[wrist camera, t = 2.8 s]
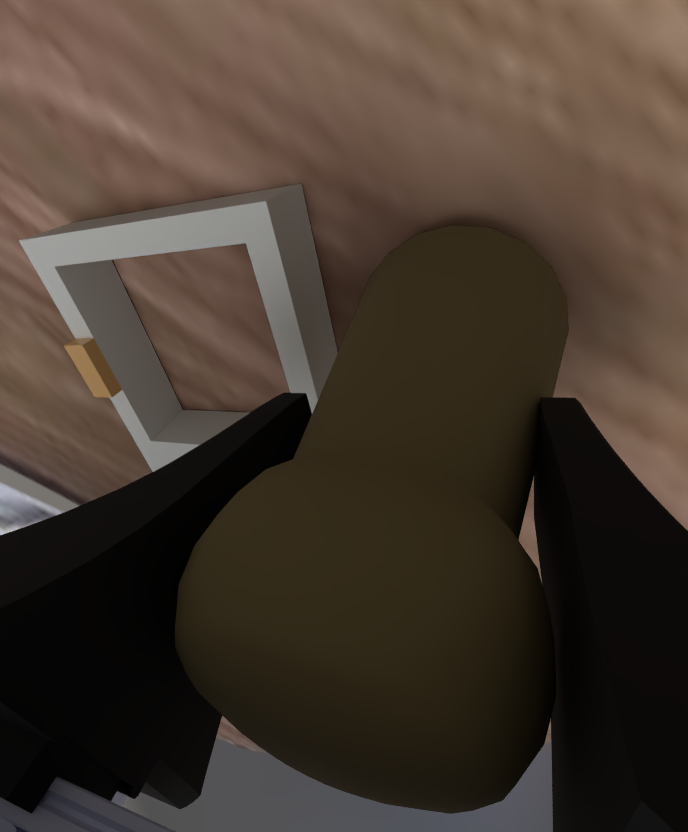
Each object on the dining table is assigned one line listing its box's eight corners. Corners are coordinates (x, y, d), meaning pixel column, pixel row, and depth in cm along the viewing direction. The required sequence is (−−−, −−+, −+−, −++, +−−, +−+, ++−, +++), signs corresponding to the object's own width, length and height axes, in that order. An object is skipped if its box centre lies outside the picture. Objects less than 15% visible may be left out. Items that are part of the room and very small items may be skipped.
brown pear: (327, 274, 13) (2, 599, 5) (535, 181, 10) (487, 645, 2) (405, 426, 16) (263, 795, 8) (591, 389, 13) (662, 949, 5)
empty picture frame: (225, 526, 27) (163, 621, 23) (73, 222, 17) (-96, 278, 13) (379, 550, 24) (344, 668, 19) (301, 183, 14) (183, 241, 9)
